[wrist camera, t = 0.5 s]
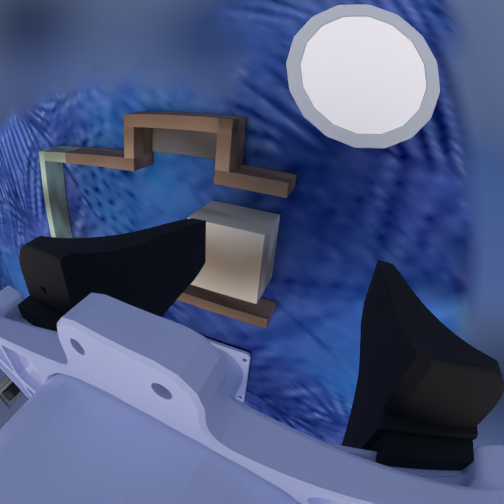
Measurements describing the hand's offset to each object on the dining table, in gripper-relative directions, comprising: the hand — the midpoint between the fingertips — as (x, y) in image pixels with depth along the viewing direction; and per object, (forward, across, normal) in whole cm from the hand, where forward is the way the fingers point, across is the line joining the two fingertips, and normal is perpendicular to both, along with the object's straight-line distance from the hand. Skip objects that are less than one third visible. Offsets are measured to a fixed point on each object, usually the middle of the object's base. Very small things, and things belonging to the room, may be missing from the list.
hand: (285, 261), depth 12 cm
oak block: (+10, +5, +5) cm, 13 cm away
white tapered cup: (+10, -2, -8) cm, 13 cm away
